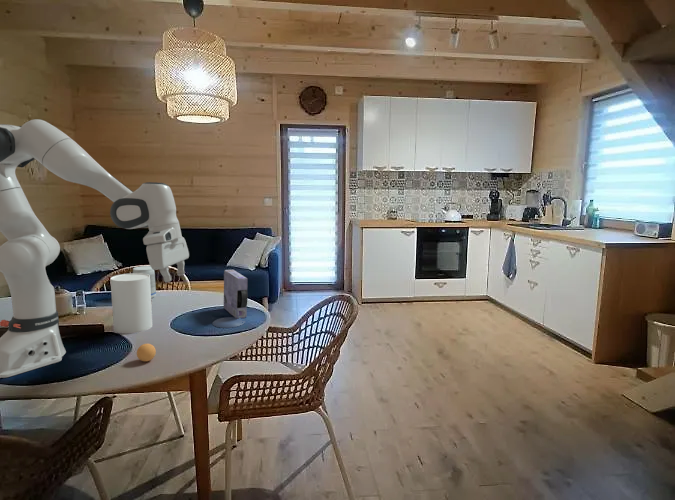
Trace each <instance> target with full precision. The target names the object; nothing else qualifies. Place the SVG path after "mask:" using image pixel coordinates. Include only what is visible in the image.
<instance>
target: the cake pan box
mask: <svg viewBox="0 0 675 500" xmlns="http://www.w3.org/2000/svg"><path fill="white" fill-rule="evenodd" d="M248 296H249V295H248V278H247V277H246V276H244V275H242V274H241V273H239V272H238V271H236V270H235V269H224V271H223V309H225V310H226V311H227V312H228V313H229V314H230V315H231V316H232V317H235V318H237V319H239V318H242V319H246V318H245V317H247V316H248V315H247V314H248V312H247V311H248V310H247V306H248V298H249V297H248Z"/></svg>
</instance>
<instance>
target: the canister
mask: <svg viewBox="0 0 675 500" xmlns="http://www.w3.org/2000/svg"><path fill="white" fill-rule="evenodd" d="M110 291H111V306H112V321H113V332H114V333H118V334H123V335H124V334H128V335H129V334H137V333H141V332H146V331H147V330H150V329H151V328H153V312H152V311H153V309H152V308H153V307H152V304H151V303H152V302H151V300H152V298H151V286H150V275H149V274H143V273H133V272H131V273H123V274H116V275H113V276H111V277H110Z"/></svg>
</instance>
